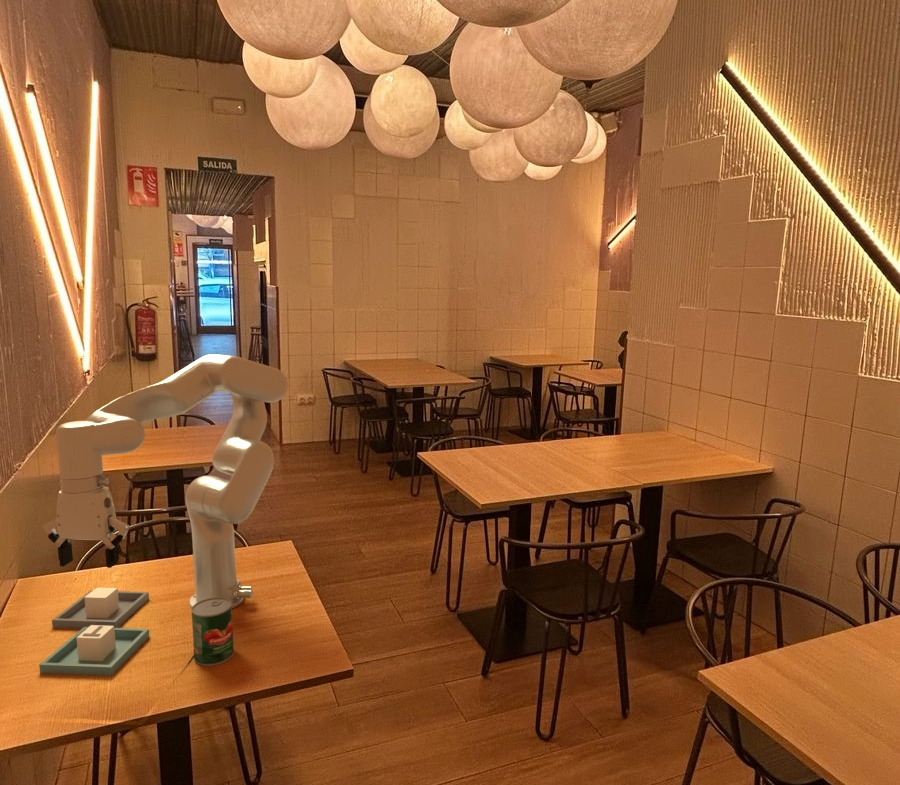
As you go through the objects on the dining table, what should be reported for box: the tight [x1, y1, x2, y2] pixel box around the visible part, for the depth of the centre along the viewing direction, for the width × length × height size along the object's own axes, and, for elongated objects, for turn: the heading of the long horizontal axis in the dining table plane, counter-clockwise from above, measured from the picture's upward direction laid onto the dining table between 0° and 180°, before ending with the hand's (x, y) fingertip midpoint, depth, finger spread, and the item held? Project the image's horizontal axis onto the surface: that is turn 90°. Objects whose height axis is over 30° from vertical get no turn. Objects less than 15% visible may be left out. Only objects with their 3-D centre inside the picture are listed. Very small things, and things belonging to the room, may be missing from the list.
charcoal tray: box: [51, 589, 150, 630], centre depth 152 cm, size 15×15×2 cm
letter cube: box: [76, 625, 116, 661], centre depth 135 cm, size 5×5×5 cm
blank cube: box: [84, 587, 119, 618], centre depth 152 cm, size 5×5×5 cm
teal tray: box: [39, 627, 150, 677], centre depth 135 cm, size 15×15×2 cm
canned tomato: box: [190, 597, 235, 667], centre depth 135 cm, size 8×8×11 cm
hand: (89, 564), depth 132 cm, fingers open, 9 cm apart
